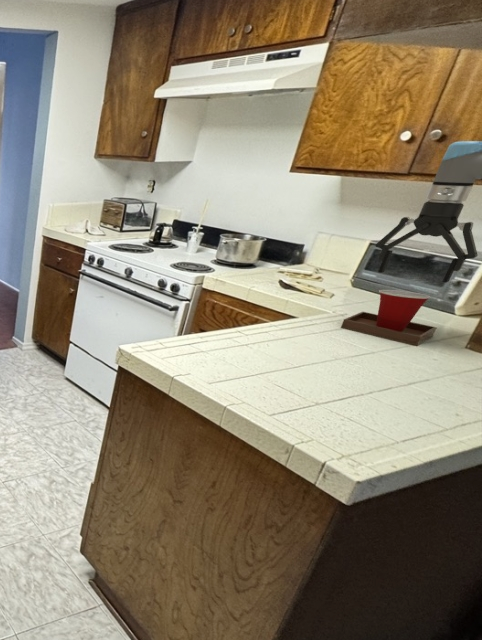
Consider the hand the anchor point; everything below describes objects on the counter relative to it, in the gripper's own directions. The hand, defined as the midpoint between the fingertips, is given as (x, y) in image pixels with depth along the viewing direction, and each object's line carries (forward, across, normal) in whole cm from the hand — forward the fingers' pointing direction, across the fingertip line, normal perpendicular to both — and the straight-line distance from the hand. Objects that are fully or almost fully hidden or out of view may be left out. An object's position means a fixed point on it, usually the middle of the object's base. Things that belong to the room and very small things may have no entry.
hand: (411, 276), depth 137 cm
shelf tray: (+17, 0, 0) cm, 17 cm away
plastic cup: (+17, 0, 0) cm, 17 cm away
